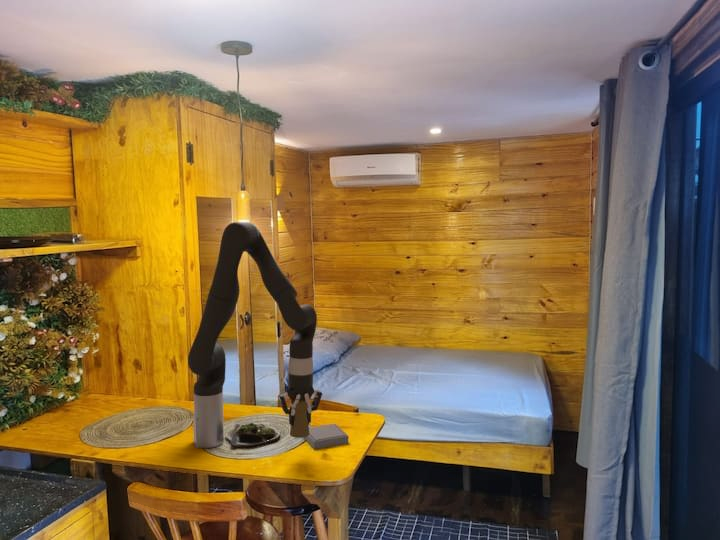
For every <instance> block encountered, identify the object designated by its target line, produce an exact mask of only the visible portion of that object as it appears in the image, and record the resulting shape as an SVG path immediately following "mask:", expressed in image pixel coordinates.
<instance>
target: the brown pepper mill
mask: <svg viewBox="0 0 720 540" xmlns="http://www.w3.org/2000/svg"><path fill="white" fill-rule="evenodd" d="M293 404H294V403H293V402H292V405H293ZM294 409H295V414H294V415H295V420H294V426H293V427H292V425H290V430H289V435H290V437H293V438H295V439H296V438H299V439H301V438H304V437H306V436H308V435H309V428H310V426H309V425H310V424H309V425H308V419H307V409H308V404H307V402H306V401H305V400H301V401H299V402H298V403H297V404H296V408H294Z"/></svg>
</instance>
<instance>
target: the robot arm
mask: <svg viewBox="0 0 720 540" xmlns="http://www.w3.org/2000/svg"><path fill="white" fill-rule="evenodd" d="M244 252H245V253H247V254H248V255H249V256H250V257H251V259H253V261H254V262H255V264H256V266H257V268H258V270H259V274H260V276H261V279H262V283H263V285H264V287H265V289H266V291H267V292H268V293H269V295H270V296H271V297H272V298H273V300H274V301H275V303H276V304H277V307H278V310H279V311H280V314H281V316H282V320H283V321H284V323H285V324H286V325H287V327H288V328H290V329H291V330H293V331H294V335H293V336H292V337H291V338H290V341H289V350H288V351H289V356H288V357H289V359H288V367H287V371H288V373H287V374H288V376H287V378H288V379H287V380H288V382H287V387H288V388H287V390H286V392H285V393H283V394H281V393H279V394H278V396H277V398H278V399H279V403H280V406H281V409H282V411H283V413H284V414H285V415H288V423H289V425H290V426H291V425H292V427H293V426H294V420H295V415H294V414H295V409H294V408H296V404H297V403H298V402H299V401H301V400H305V401H306V402H307V404H308V409H307V419H308V425H310V423H311V422H312V413H313V412H314V411H317V410H318V408H319V405H320V402H321V399H322V396H323V392H322V391H321V390H319V389H317V390H316V389H315V388H314V360H313V359H314V358H313V353H314V352H313V351H314V349H313V347H314V346H313V343H314V342H313V341H314V338H315V335H316V329H317V324H318V323H317V322H318V315H317V312H316V310H315V308H314V307H313V306H311V304H302V305H300V304H299V302H298V301H297V298H298V297H297V296H298V292H297V289H295V287H294V286H293V284H292V283H291V281H290V280H289V279H288V278H287V275H285V274H284V272H283V270H282V269H281V268H280V266H279V264H278V263H277V261H276V259H275V257H274V256H273V254H272V252H271V250H270V248H269V247H268V244H267V242H266V240H265V237H264V236H263V234H262V233H261V231H260V229H259V228H258V227H257V225H256V224H254V223H252V222H248V221H235V222H231V223H229V224H228V225H226V227H225V228H224V230H223V232H222V236H221V241H220V247H219V253H218V258H217V262H216V263H217V264H216V266H215V267H216V268H215V271H214V273H213V274H214V275H213V278H212V280H211V286H210V289H209V292H208V295H207V297H206V298H207V299H206V302H205V307H204V310H203V313H202V315H201V320H200V324H199V326H198V329H197V332H196V335H195V338H194V339H193V343H192V345H191V347H190V349H189V351H188V352H189V353H188V356H187V365H188V368H189V370H190V371H191V372H192V374H194V375H197V376H198V375H199V377H198V379H197V380H196V382H195V383H194V385H193V411H194V412H193V414H192V415H193V418H192V419H193V421H192V422H193V443H194V446H195V449H198V448H199V449H200V448H202V449H206V448H208V449H209V448H215V447H219V446H220V445H222V444H224V440H225V439H224V438H225V437H224V436H225V434H224V394H223V393H224V390H223V389H224V384H225V382H226V361H227V360H226V352H225V350H224V347H223V346H222V345H221V343H218V342H217V341H218V339H219V337H220V335H221V333H222V332H223V330H224V329H225V328H226V326H227V325H228V323H229V321H230V320H231V319H232V317H233V315H234V313H235V311H236V307H237V305H238V300H239V297H240V292H241V291H240V290H241V289H240V282H239V275H238V274H239V273H238V272H239V265H240V262H241V260H242V257H243V254H244ZM312 396H313V400H312V403H311V401H310V399H311V398H312ZM288 398H289V399H290V402H289V408H288V405H287V401H288ZM292 402H293V403H294V404H293V405H292Z"/></svg>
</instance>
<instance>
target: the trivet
mask: <svg viewBox="0 0 720 540" xmlns="http://www.w3.org/2000/svg"><path fill="white" fill-rule="evenodd" d="M303 438H304V440H305V441H306V442H307V443H308V444H309V445H310V447H312V448H313V450H318V449H325V448H329V447H335V446H340V445H341V446H342V445H346V444H349V435H348V434H347V433H346V432H345V431H344V430H343V429H342V428H340V427H339V426H338V425H337V424H336V423H331V424H325V425H319V426H312V427H309V435H308V436H306V437H303Z"/></svg>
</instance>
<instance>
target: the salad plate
mask: <svg viewBox="0 0 720 540" xmlns="http://www.w3.org/2000/svg"><path fill="white" fill-rule="evenodd" d="M257 430H260V431H257ZM225 437H226V439H227V440H228V441H229V442H230V444H231V445H232V446H235V447H237V448H240V447H241V449H253V448H252V447H255V448H259V447H258V446H260V447H263V446H262V445H264V446H266V445H265V444H268V445H270V444H269V443H271V444H273V443H276V442H277V441H278V440H279V439H280V437H281V432H280V431H279V430H277V429H275V428H273V427H272V426H271V425H269V424H265V423H256V424H255V423H254V422H250V423H246V424H245V423H244V422H243V423H242V424H240V423H236V424H234V427H233V429H230V430H228V431H227V432H226V433H225ZM267 440H269V441H267ZM272 442H273V443H272Z"/></svg>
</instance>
